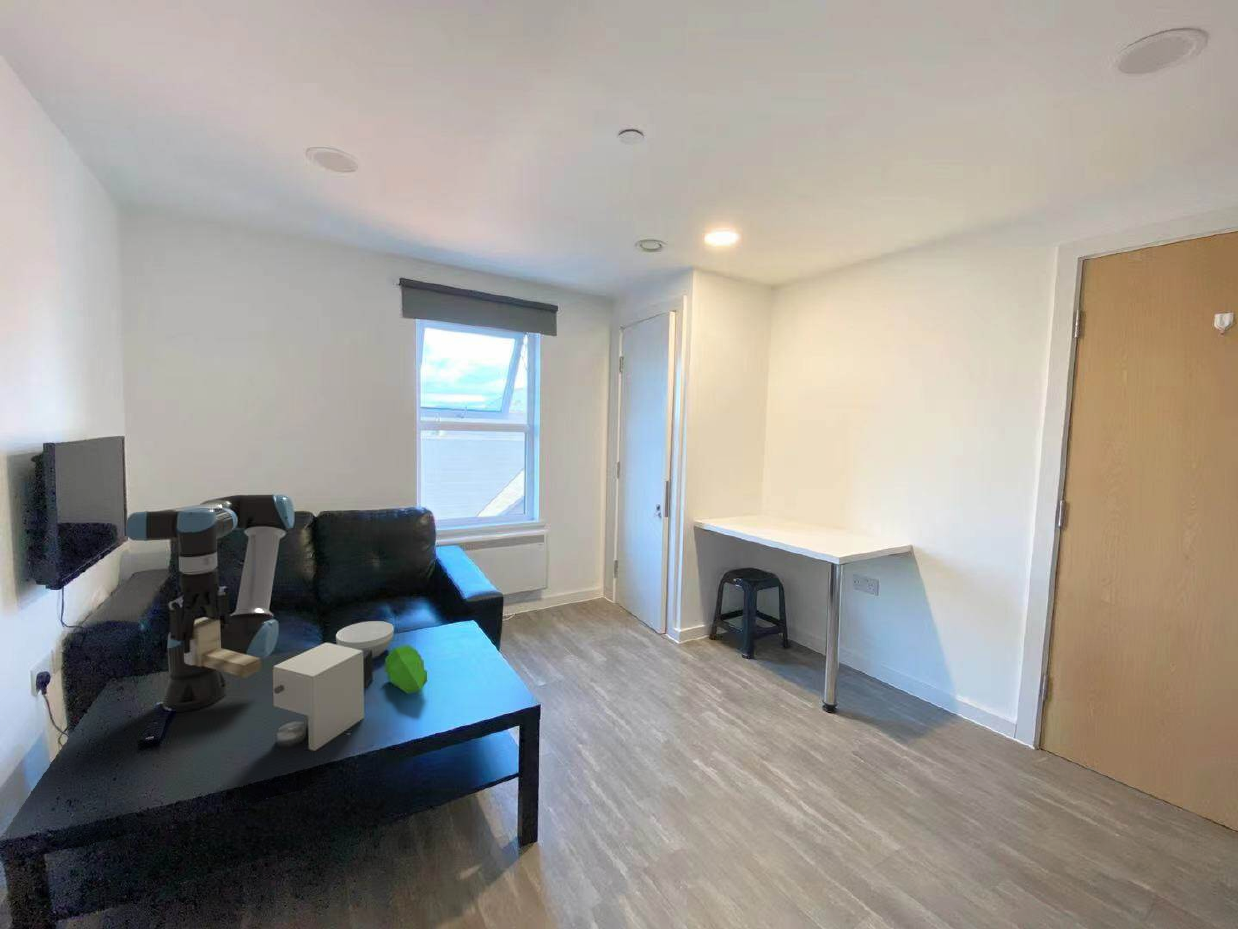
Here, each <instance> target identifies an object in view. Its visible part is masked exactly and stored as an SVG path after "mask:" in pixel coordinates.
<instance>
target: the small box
mask: <svg viewBox="0 0 1238 929" xmlns="http://www.w3.org/2000/svg"><path fill="white" fill-rule="evenodd" d="M362 651H363V676H364V690H365V689H366V688H367V687H368V686H369V685H370V684H371V683H372V681H373V680H374V679H373V659H372V650H362Z"/></svg>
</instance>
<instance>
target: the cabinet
mask: <svg viewBox="0 0 1238 929" xmlns="http://www.w3.org/2000/svg"><path fill="white" fill-rule="evenodd" d="M272 683H273V684H272V686H273V688H272V689H273V691H272V692H273V693H272V694H273V706H274V707H277V708H279V709H283V710H286V711H289V712H292V713H293V712H294V713H297V714H300V715H304V716H307V717H308V718H307V721H308V728H307V729H308V730H307V731H308V750H311V751H314V752H315V751H317V750H318V749H320V748H321V747H323V746H324V745H326V744H327V743H329V742H330V741H332V740H334V739H335V738H336V737H338V736H339V735H340V734H342V733H344V732H345V731H347V730H348V729H351V727H353V726H354V725H355V724H358V722H360V721H362V720H363V719H365V695H364V694H365V693H364V692H365V689H364V676H363V651H362V650H357V649H353V648H348V647H344V646H339V645H337V644H335V643H331V642H323V643H322V644H320V645H318V646H315V647H313V648H311V649H308V650H306V651H304V652H302V653H300V654H297V655H295V656H293V657H291V658H288V659H287V660H284V661H282V662H280V663H278V664H276V665H275V664H274V666H273V669H272Z"/></svg>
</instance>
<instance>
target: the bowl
mask: <svg viewBox="0 0 1238 929" xmlns="http://www.w3.org/2000/svg"><path fill="white" fill-rule="evenodd" d="M393 637H394V626H393V624H392V623H389V622H386V621H379V620H378V621H377V620H376V621H375V620H374V621H373V620H371V621H361V622H358V623H357V622H356V623H354V624H349V625H348V626H345V627H342V628H341V629H339V630H338V631H337V633H336V634H335V641H336V645H339V646H344V647H348V648H353V649H357V650H372V658H374V657H376V656H378V657H380V656H381V655H380V654H382V653H384V652H385V651H386V650H387V649H388V647H389V646H390V644H391V643H392V641H393ZM376 658H377V657H376ZM374 659H375V658H374Z"/></svg>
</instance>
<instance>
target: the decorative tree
mask: <svg viewBox="0 0 1238 929" xmlns="http://www.w3.org/2000/svg"><path fill="white" fill-rule="evenodd" d="M384 660H385V662H384V665H385V666H384V668H385V670H384V671H385V673H387V677H388V678H389V682H390V683H392V684H393V685H394V686H396V687H397V688H398V689H400V690H402V691H403V692H405V693H406V694H408V695H409V694H413V693H418V692H420V691H422V690H421V689H422V688H423V687H424V686H425V684H427V683H428V671H427V670H426V669H425V664H424V662H425V661H424V659H422V655H420V654H419V651H418V650H417V649H415V648H413V646H411V645H410V644H408V645H402V646H397V647H394V649H392V651H391V652H390V653H389V654H388V655H387V656H386V657H385V659H384Z"/></svg>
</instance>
